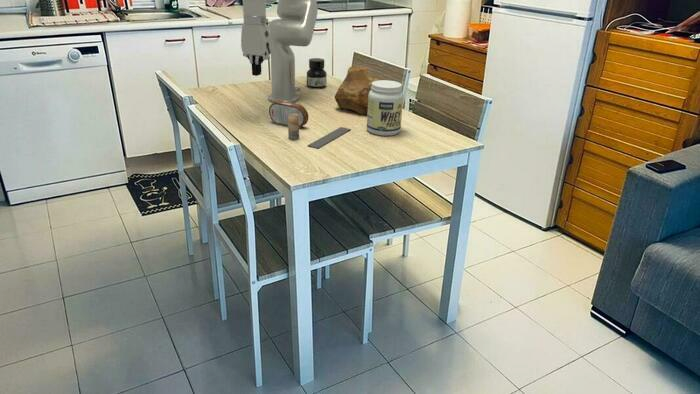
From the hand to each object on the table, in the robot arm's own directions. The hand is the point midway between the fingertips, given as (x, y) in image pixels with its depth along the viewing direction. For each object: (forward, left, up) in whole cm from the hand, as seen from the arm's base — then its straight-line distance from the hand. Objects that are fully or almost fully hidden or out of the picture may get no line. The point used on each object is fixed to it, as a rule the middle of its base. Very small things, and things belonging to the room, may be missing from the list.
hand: (256, 74), depth 188 cm
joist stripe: (+3, +32, -16) cm, 36 cm away
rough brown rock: (-32, +23, -17) cm, 43 cm away
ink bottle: (-52, -7, -17) cm, 55 cm away
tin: (0, +13, -17) cm, 21 cm away
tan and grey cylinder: (+10, +22, -16) cm, 29 cm away
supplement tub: (-14, +44, -17) cm, 49 cm away
